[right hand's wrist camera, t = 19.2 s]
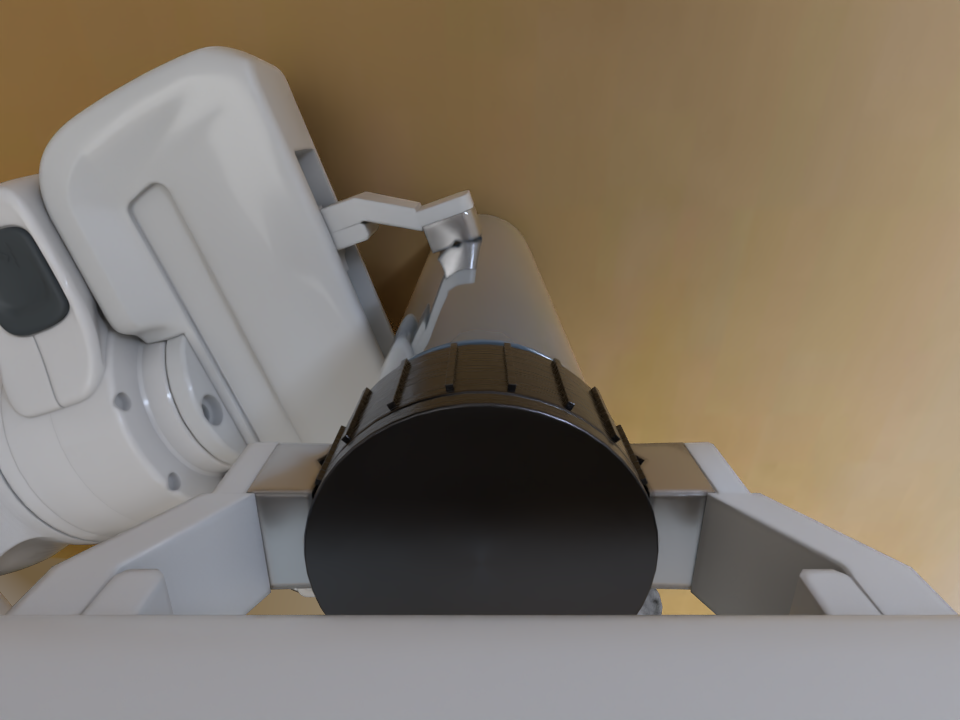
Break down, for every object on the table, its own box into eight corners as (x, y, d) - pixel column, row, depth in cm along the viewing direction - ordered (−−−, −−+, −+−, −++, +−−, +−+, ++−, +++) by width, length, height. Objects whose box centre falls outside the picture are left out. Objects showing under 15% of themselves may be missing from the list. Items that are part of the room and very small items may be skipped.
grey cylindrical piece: (452, 331, 27) (405, 667, 10) (411, 237, 25) (274, 451, 9) (547, 296, 26) (665, 591, 9) (511, 197, 25) (578, 341, 8)
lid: (687, 437, 10) (743, 519, 8) (519, 628, 12) (527, 737, 10) (432, 278, 9) (419, 323, 7) (286, 511, 11) (238, 605, 8)
